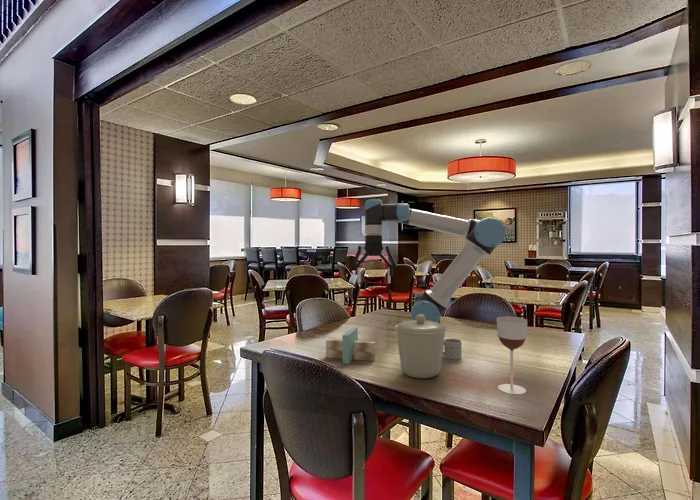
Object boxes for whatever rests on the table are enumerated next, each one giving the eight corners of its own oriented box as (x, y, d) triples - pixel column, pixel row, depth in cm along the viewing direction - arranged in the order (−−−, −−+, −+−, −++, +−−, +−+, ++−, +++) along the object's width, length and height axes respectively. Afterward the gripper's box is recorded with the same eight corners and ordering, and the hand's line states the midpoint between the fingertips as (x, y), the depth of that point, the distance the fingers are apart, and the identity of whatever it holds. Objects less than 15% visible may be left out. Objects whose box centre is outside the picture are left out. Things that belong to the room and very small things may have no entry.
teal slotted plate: (357, 353, 159) (357, 327, 159) (348, 364, 146) (348, 335, 146) (352, 353, 160) (352, 327, 160) (342, 363, 147) (342, 335, 146)
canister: (411, 362, 147) (411, 308, 147) (455, 372, 136) (455, 313, 135) (385, 375, 133) (384, 315, 133) (432, 387, 122) (431, 321, 121)
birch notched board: (375, 359, 151) (375, 342, 151) (374, 361, 149) (374, 343, 149) (327, 355, 157) (327, 339, 157) (326, 357, 155) (326, 340, 155)
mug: (461, 355, 156) (461, 339, 156) (461, 360, 149) (461, 343, 149) (436, 353, 159) (436, 337, 158) (435, 358, 152) (435, 341, 152)
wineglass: (520, 383, 124) (520, 316, 124) (532, 395, 114) (531, 322, 114) (493, 382, 125) (493, 316, 125) (501, 394, 115) (501, 322, 115)
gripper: (403, 234, 168) (403, 282, 168) (348, 235, 175) (349, 281, 175) (400, 234, 161) (400, 284, 161) (344, 235, 168) (344, 283, 168)
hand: (374, 282), depth 168 cm, fingers open, 13 cm apart
